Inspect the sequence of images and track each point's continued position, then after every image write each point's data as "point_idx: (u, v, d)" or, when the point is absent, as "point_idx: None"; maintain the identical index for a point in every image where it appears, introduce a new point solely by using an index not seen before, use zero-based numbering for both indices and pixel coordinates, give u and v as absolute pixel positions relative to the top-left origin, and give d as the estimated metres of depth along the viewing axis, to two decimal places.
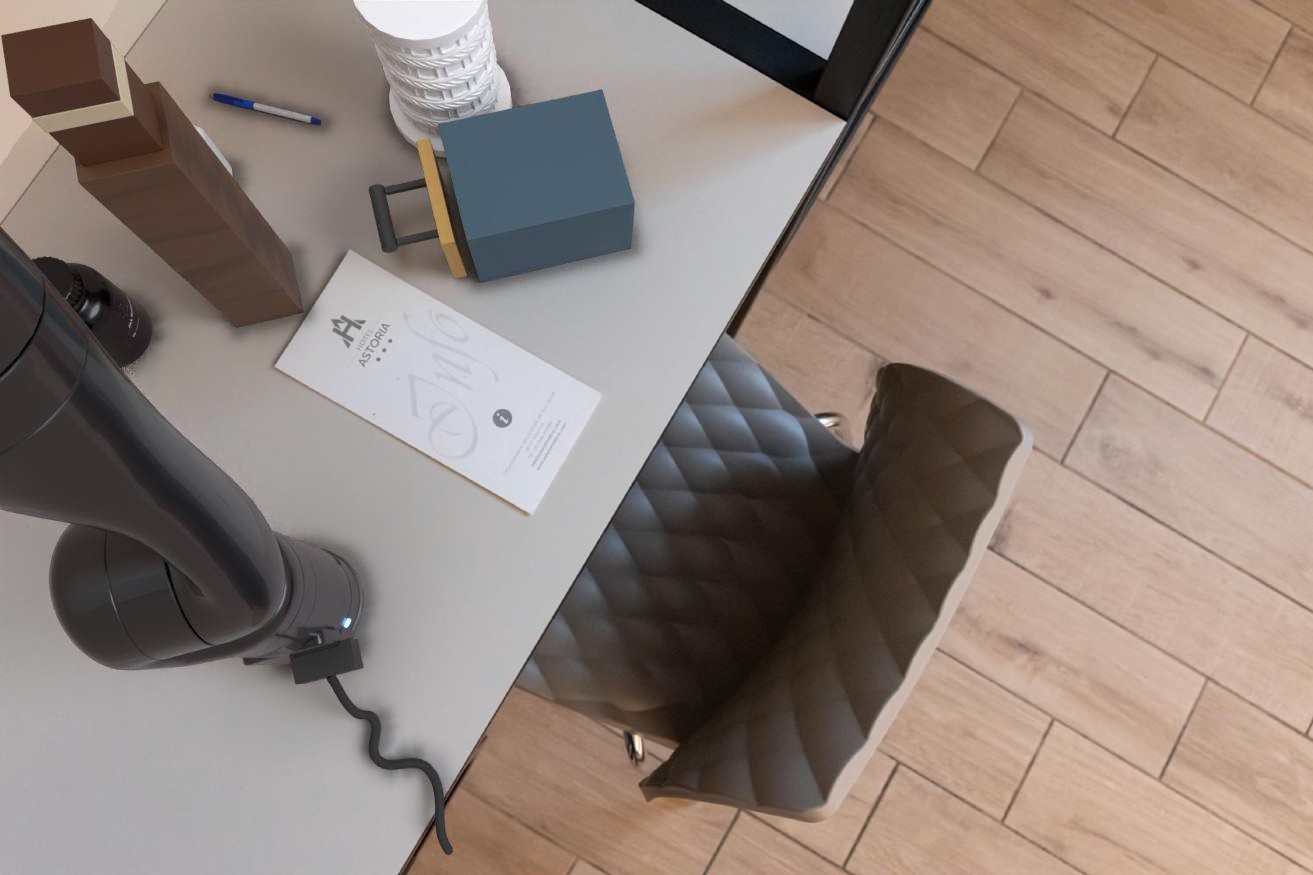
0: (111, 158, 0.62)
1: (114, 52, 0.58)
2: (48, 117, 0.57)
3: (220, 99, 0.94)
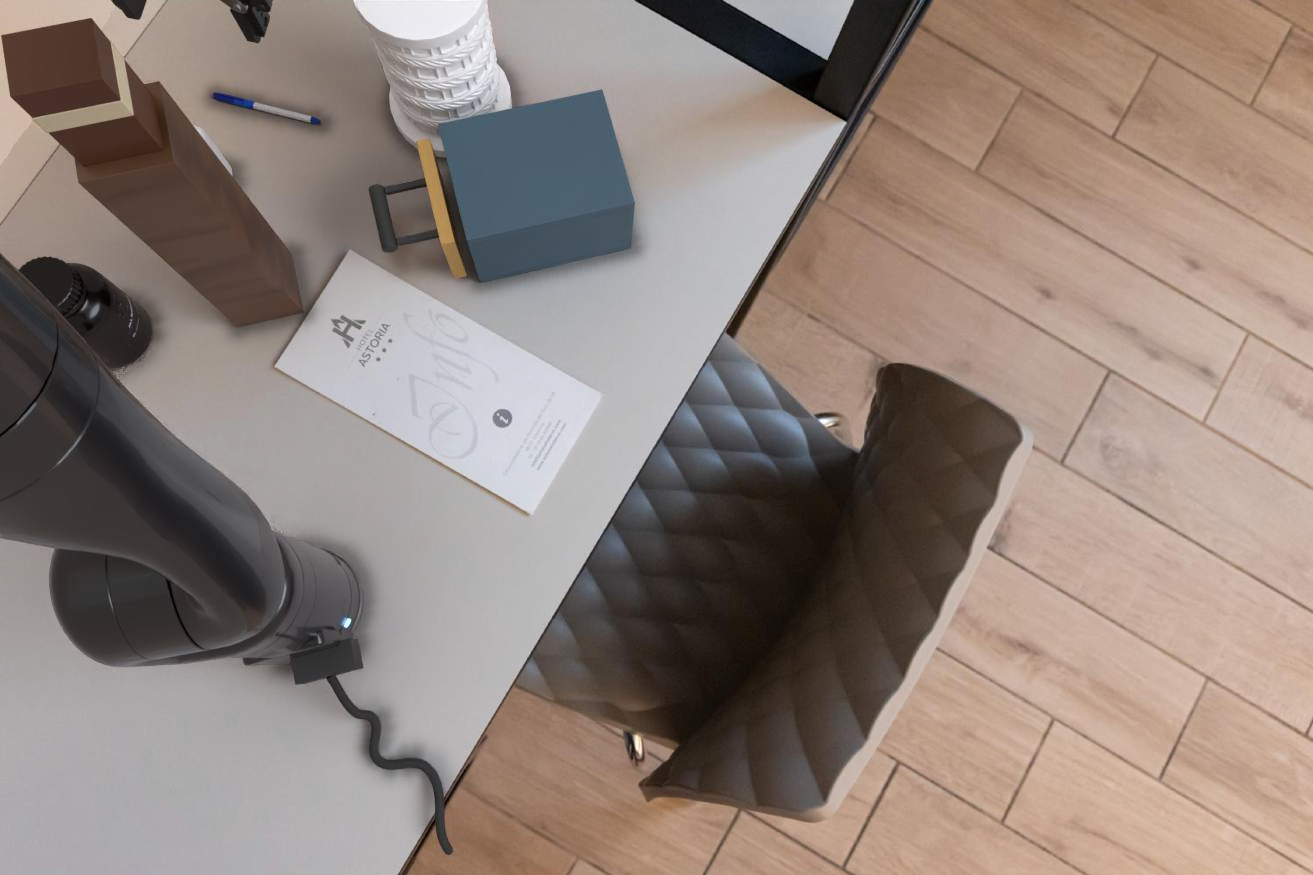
0: (111, 158, 0.62)
1: (114, 52, 0.58)
2: (48, 117, 0.57)
3: (220, 98, 0.94)
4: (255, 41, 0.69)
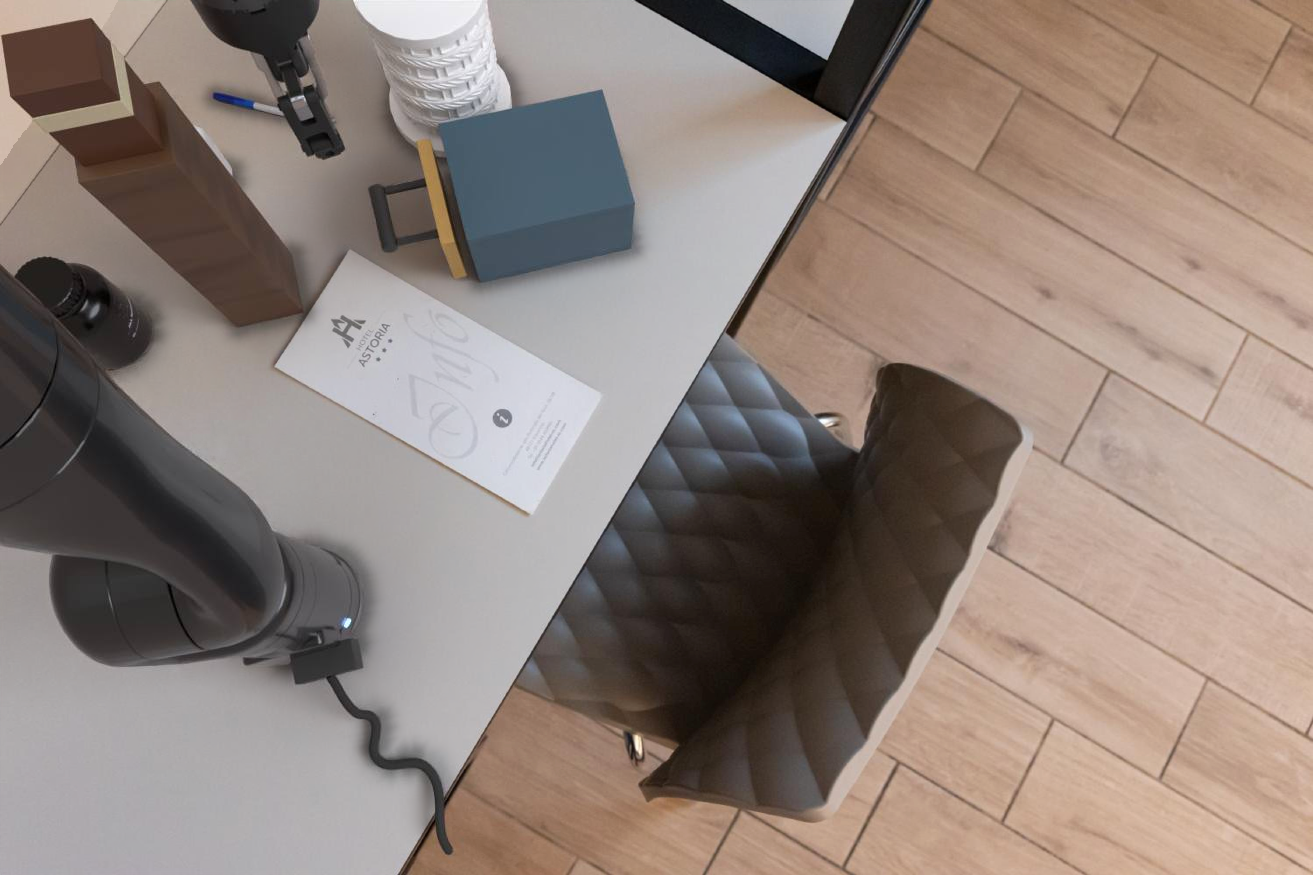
0: (111, 158, 0.62)
1: (114, 52, 0.58)
2: (48, 117, 0.57)
3: (220, 98, 0.94)
4: (316, 155, 0.72)
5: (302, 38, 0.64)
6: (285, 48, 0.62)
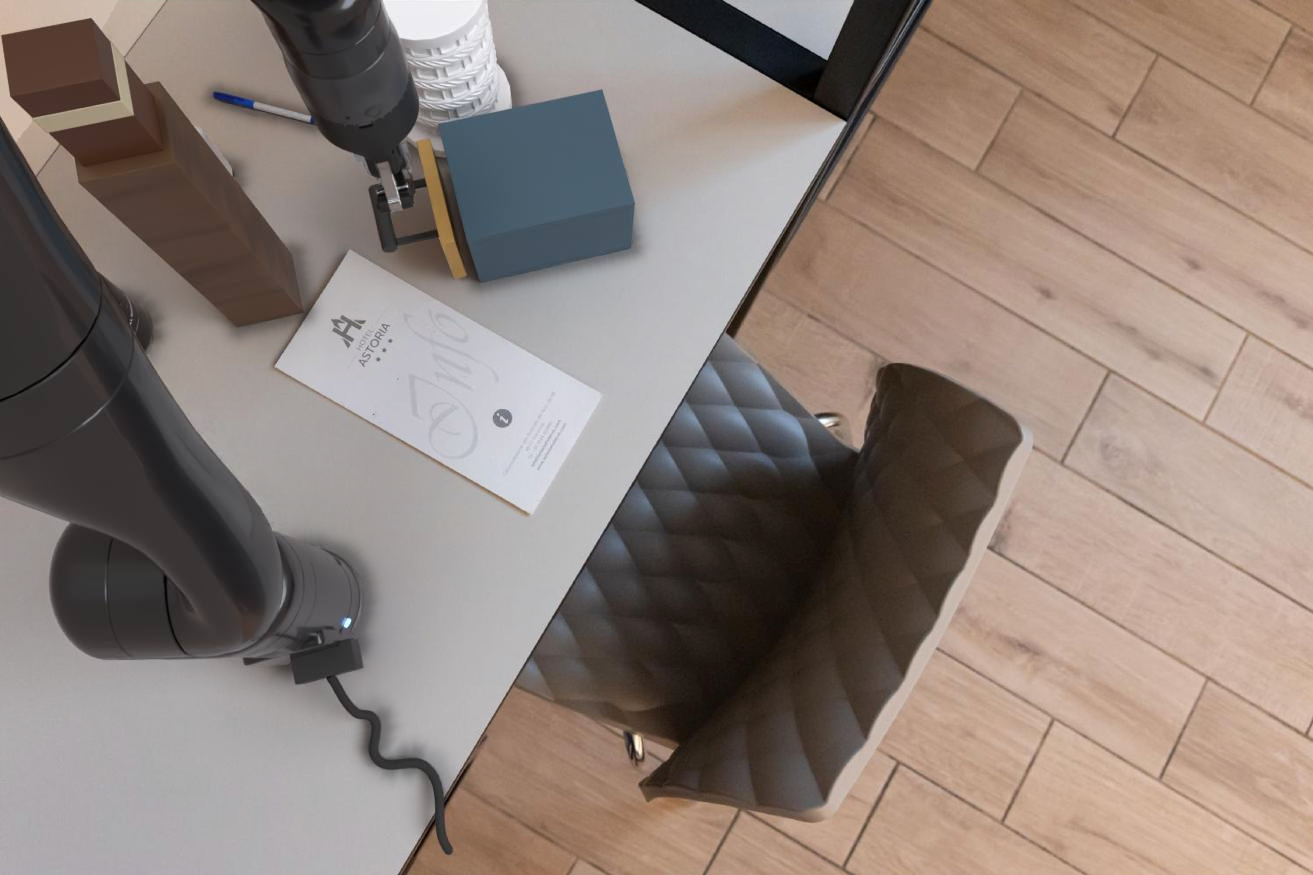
0: (111, 158, 0.62)
1: (114, 52, 0.58)
2: (48, 117, 0.57)
3: (220, 98, 0.94)
4: None
5: (400, 145, 0.73)
6: (384, 152, 0.70)
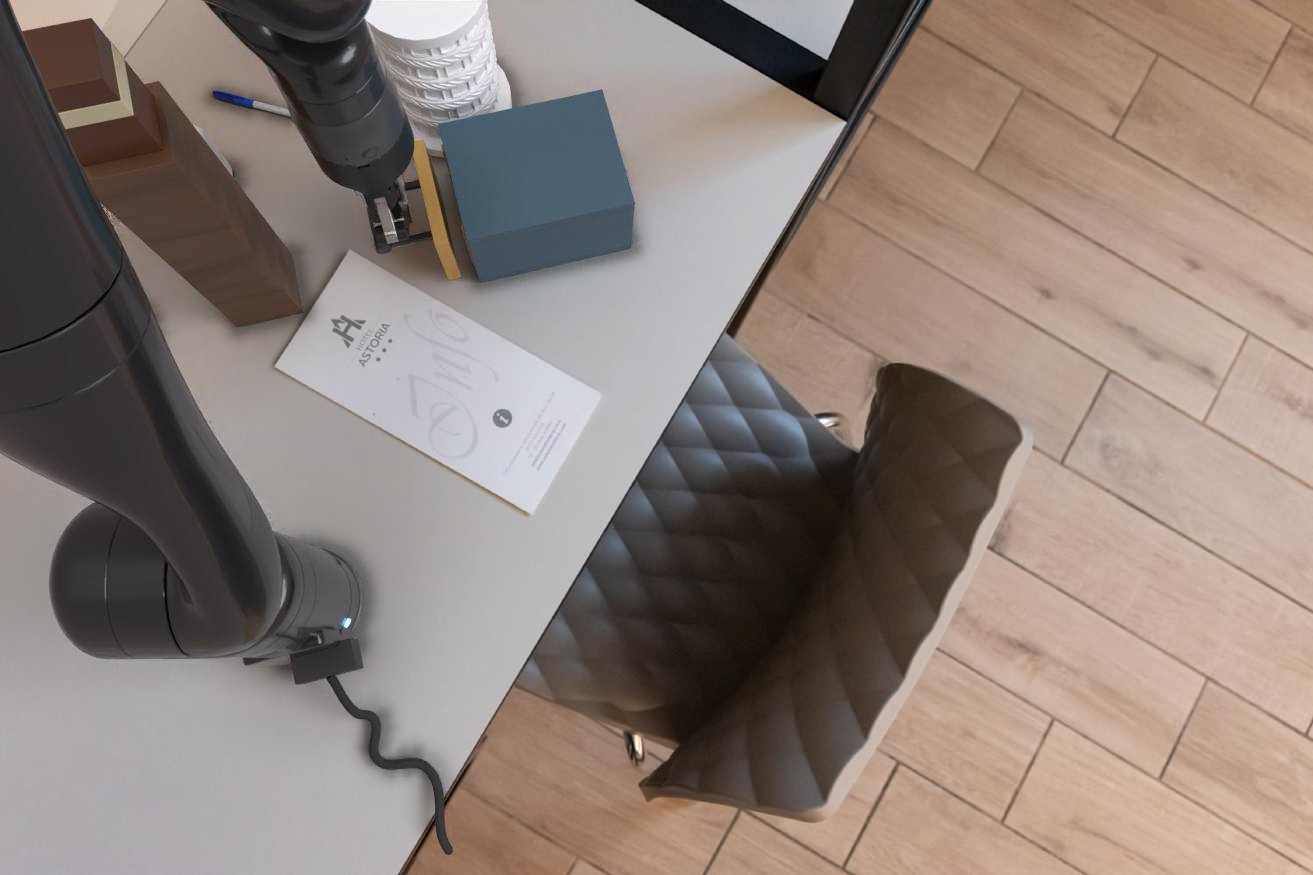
0: (111, 158, 0.62)
1: (114, 52, 0.58)
2: None
3: (220, 97, 0.93)
4: None
5: (396, 180, 0.77)
6: (381, 189, 0.74)
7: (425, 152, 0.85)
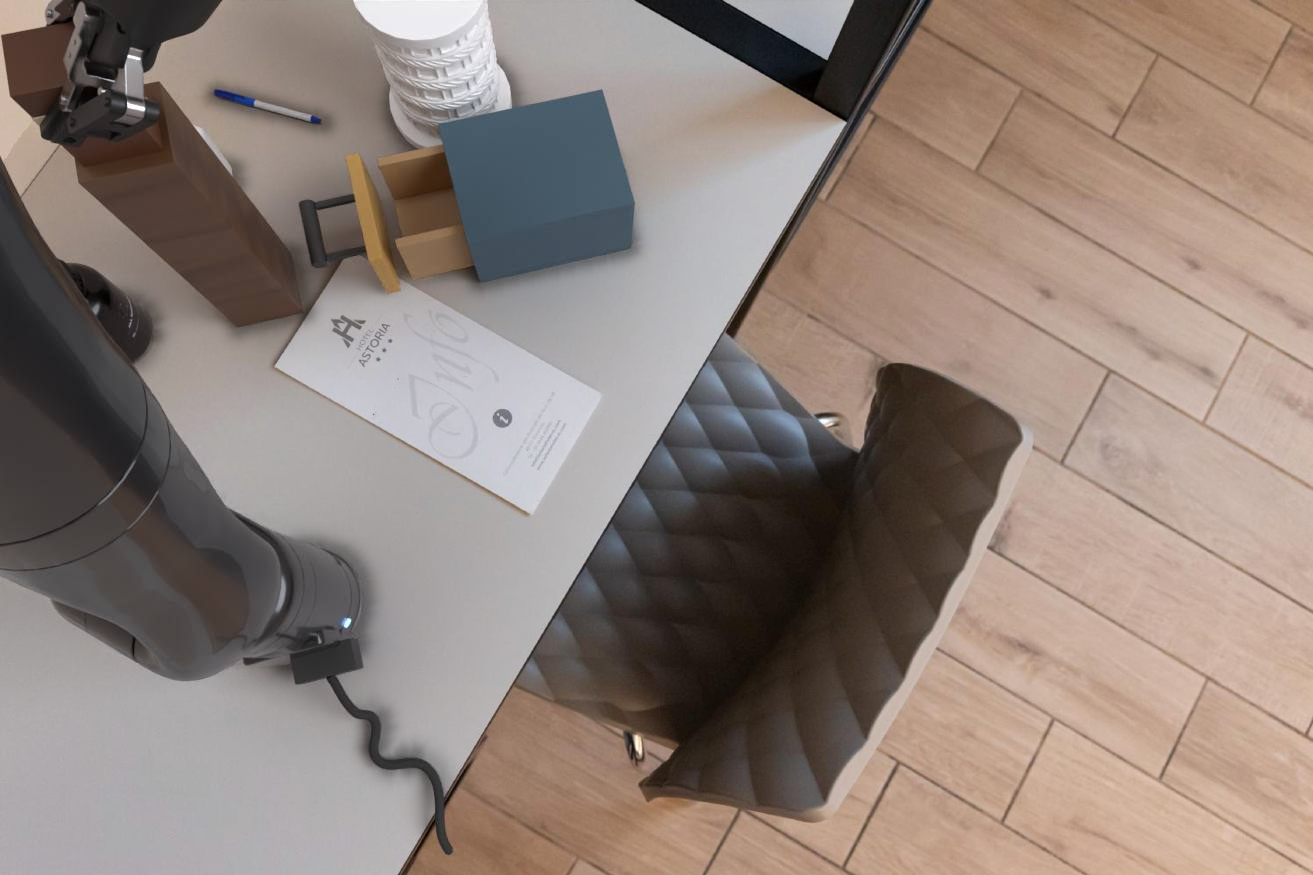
0: (111, 158, 0.62)
1: None
2: None
3: (221, 95, 0.94)
4: (41, 133, 0.57)
5: None
6: (156, 38, 0.51)
7: (360, 166, 0.84)
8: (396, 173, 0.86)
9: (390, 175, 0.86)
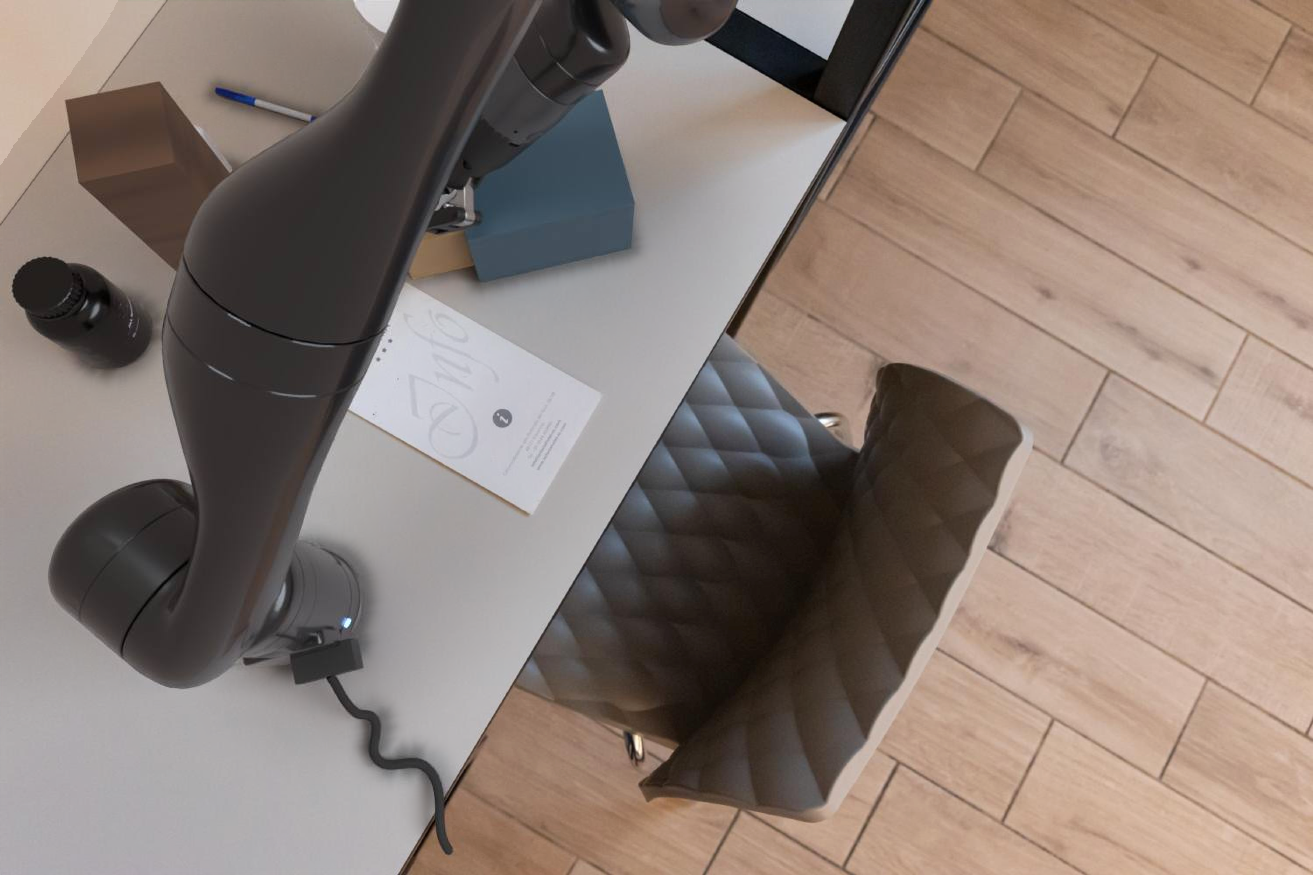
0: None
1: None
2: None
3: (222, 94, 0.94)
4: None
5: None
6: (487, 171, 0.76)
7: None
8: None
9: None
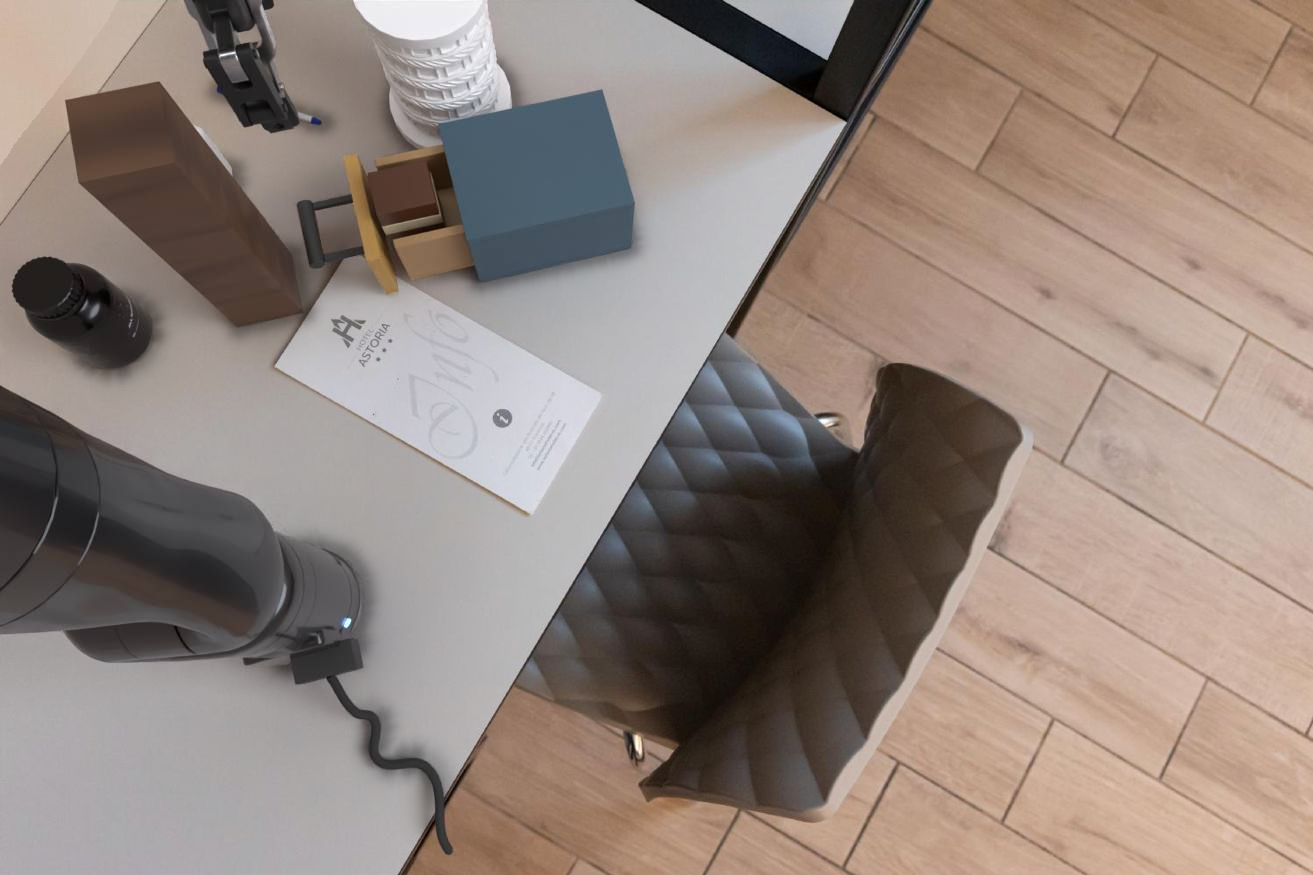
0: None
1: (432, 180, 0.85)
2: (392, 226, 0.84)
3: None
4: (264, 127, 0.61)
5: None
6: None
7: (358, 166, 0.84)
8: None
9: None
